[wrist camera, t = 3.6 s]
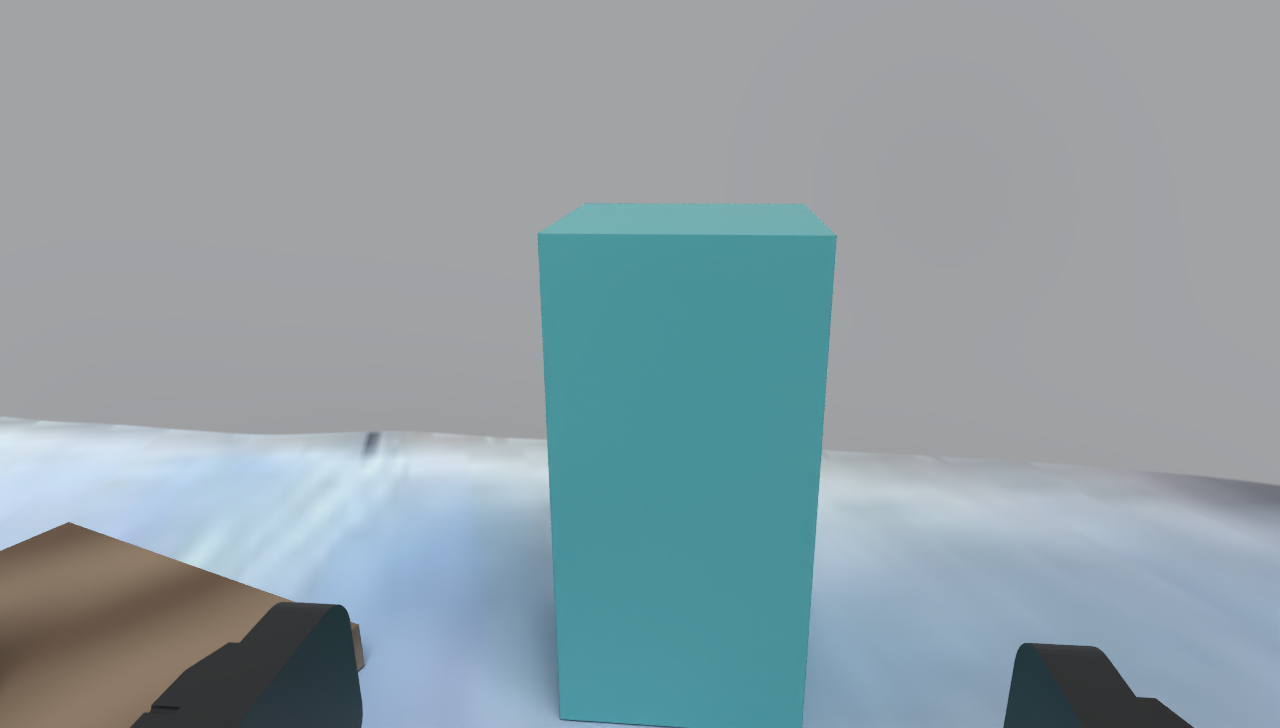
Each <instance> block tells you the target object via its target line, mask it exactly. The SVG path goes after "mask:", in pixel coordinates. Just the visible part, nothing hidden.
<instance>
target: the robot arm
mask: <svg viewBox="0 0 1280 728" xmlns="http://www.w3.org/2000/svg"><path fill="white" fill-rule="evenodd" d="M362 715H363V713H362V699H361V692H360V685H359V678H358V672H357V665H356V658H355V651H354V644H353V637H352V630H351V623H350V618H349V615H348V612H347V610H346V609H345V608H344V607H343V606H342V605H335V604H316V603H297V602H280V603H277V604H276V605H274V606H273V607H272V608H271V609H269V611H268V612H267V613H266V614H265V615H264V616H263V617H262V618H261V619H260V620H259V622H258V623H257V624H256V625H255V626H254V627H253V628H252V629H251V630H250V631H249V633H248V634H247V635H246V636H245V637H244V638H243V639H242V640H241V641H240V642H239V643H235V642H228V643H227V644H225V645H224V646H222V647H221V648H219V649H217V650H216V651H214V652H213V653H211V654H210V655H208V656H206V657H205V658H203V659H202V660H200V661H199V662H197V663H196V664H194V665H192V666H191V667H189V668H188V669H186V670H185V671H184V672H183V673H182V674H181V675H180V676H179V677H178V678H177V679H176V680H175V681H174V682H173V683H172V684H171V685H170V686H169V687H168V688H167V689H166V690H165V691H164V692H163V693H162V694H161V696H160V697H159V698H158V699H157V700H156V701H155V702H154V703H153V704H152V705H151V710H150V712H149V713H147V712H144V713H143V714H142V715H141V716H140V717H139V718H138V719H137V720H136V722H135V723H134V724H133V725H132V726H131V727H130V728H361V725H362ZM1004 728H1194V727H1192V726H1191V725H1190V724H1188V723H1187V722H1186V721H1184V720H1183V719H1182V718H1181V717H1179V716H1178V715H1177V714H1175V713H1174V712H1173V711H1171V710H1170V709H1169V708H1168V707H1166V706H1165V705H1164V704H1162V703H1161V702H1160V701H1158V700H1157V699H1156V698H1141V697H1136V696H1135V695H1134V693H1133V692H1132V691H1131V689H1130V688H1129V686H1128V685H1127V684H1126V682H1125V681H1124V680H1123V678H1122V677H1121V675H1120V674H1119V673H1118V671H1117V670H1116V668H1115V667H1114V666H1113V664H1112V663H1111V662H1110V660H1109V659H1108V657H1107V656H1106V655H1105V654H1104V653H1103V652H1102V651H1101V650H1100V649H1098V648H1096V647H1093V646H1075V645H1056V644H1038V643H1024V644H1022V645H1021V646H1020V648H1019V649H1018V651H1017V654H1016V658H1015V663H1014V669H1013V675H1012V681H1011V687H1010V692H1009V698H1008V704H1007V710H1006V716H1005V722H1004Z"/></svg>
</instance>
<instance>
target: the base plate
mask: <svg viewBox="0 0 1280 728" xmlns="http://www.w3.org/2000/svg"><path fill="white" fill-rule="evenodd" d="M280 602H293V601H290V600H287V599H285V598H282V597H279V596H276V595H273V594H270V593H268V592H265V591H262V590H259V589H256V588H253V587H251V586H248V585H245V584H242V583H239V582H237V581H234V580H231V579H228V578H225V577H222V576H220V575H217V574H214V573H211V572H208V571H205V570H203V569H200V568H197V567H194V566H191V565H188V564H186V563H183V562H180V561H177V560H174V559H171V558H169V557H166V556H163V555H160V554H157V553H155V552H152V551H149V550H146V549H143V548H140V547H138V546H135V545H132V544H129V543H126V542H123V541H121V540H118V539H115V538H112V537H109V536H106V535H104V534H101V533H98V532H95V531H92V530H89V529H87V528H84V527H81V526H78V525H75V524H73V523H70V522H68V523H66V524H63V525H61V526H58V527H56V528H54V529H51V530H49V531H47V532H44V533H42V534H40V535H37V536H35V537H32V538H30V539H28V540H25V541H23V542H21V543H18V544H16V545H13V546H11V547H9V548H6V549H4V550H2V551H0V728H130V727H131V726H132V725H133V724H134V723H135V722H136V720H137V719H138V718H139V717H140V716H141V715H142V714H143V713H144V712H147V713H149V712H150V710H151V705H152V704H153V703H154V702H155V701H156V700H157V699H158V698H159V697H160V696H161V694H162V693H163V692H164V691H165V690H166V689H167V688H168V687H169V686H170V685H171V684H172V683H173V682H174V681H175V680H176V679H177V678H178V677H179V676H180V675H181V674H182V673H183V672H184V671H185V670H186V669H188V668H189V667H191V666H192V665H194V664H196V663H197V662H199V661H200V660H202V659H203V658H205V657H206V656H208V655H210V654H211V653H213V652H214V651H216V650H217V649H219V648H221V647H222V646H224V645H225V644H227V643H228V642H235V643H239V642H240V641H241V640H242V639H243V638H244V637H245V636H246V635H247V634H248V633H249V631H250V630H251V629H252V628H253V627H254V626H255V625H256V624H257V623H258V622H259V620H260V619H261V618H262V617H263V616H264V615H265V614H266V613H267V612H268V611H269V609H271V608H272V607H273V606H274V605H276V604H277V603H280ZM350 623H351V630H352V637H353V644H354V651H355V658H356V665H357V671H358V670H360V669H361V668H362V667H363V666H364V659H363V651H362V644H361V637H360V630H359V625H358V624H355V623H352V622H350Z"/></svg>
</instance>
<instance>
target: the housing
mask: <svg viewBox="0 0 1280 728" xmlns="http://www.w3.org/2000/svg"><path fill="white" fill-rule="evenodd" d="M836 238H837V235H835V234H834V233H833V232H832V231H831V230H830V229H829V228H828V227H827V226H826V225H825V224H824V223H823V222H822V221H821V220H820V219H819V218H818V217H817V216H816V215H815V214H814V213H813V212H812V211H811V210H810V209H809V208H808V207H807V206H805V204H637V203H635V204H634V203H629V204H627V203H624V204H623V203H618V204H616V203H615V204H613V203H605V204H604V203H586V204H584V205H582V206H581V207H579V208H577V209H576V210H574V211H573V212H571V213H570V214H568V215H566V216H565V217H563V218H562V219H560V220H558V221H557V222H555V223H554V224H552V225H550V226H549V227H547V228H546V229H544V230H542V231H541V232H539V233H538V252H539V272H540V293H541V315H542V337H543V358H544V378H545V379H544V380H545V401H546V422H547V444H548V465H549V486H550V508H551V529H552V550H553V572H554V593H555V615H556V636H557V657H558V679H559V700H560V719H566V720H581V721H596V722H611V723H625V724H640V725H655V726H670V727H684V728H802V718H803V704H804V690H805V676H806V662H807V647H808V633H809V619H810V605H811V591H812V577H813V563H814V549H815V534H816V520H817V506H818V492H819V478H820V464H821V450H822V436H823V421H824V407H825V393H826V379H827V365H828V351H829V337H830V323H831V308H832V294H833V280H834V265H835V251H836Z"/></svg>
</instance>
